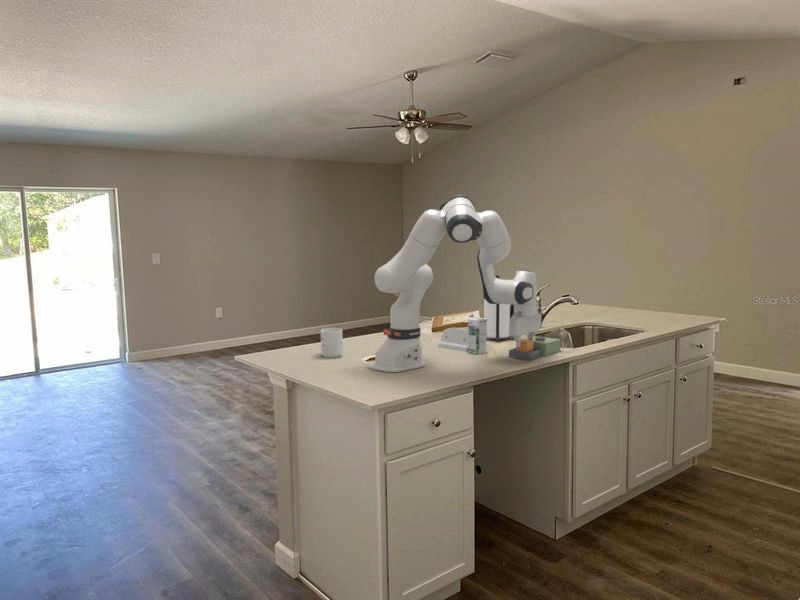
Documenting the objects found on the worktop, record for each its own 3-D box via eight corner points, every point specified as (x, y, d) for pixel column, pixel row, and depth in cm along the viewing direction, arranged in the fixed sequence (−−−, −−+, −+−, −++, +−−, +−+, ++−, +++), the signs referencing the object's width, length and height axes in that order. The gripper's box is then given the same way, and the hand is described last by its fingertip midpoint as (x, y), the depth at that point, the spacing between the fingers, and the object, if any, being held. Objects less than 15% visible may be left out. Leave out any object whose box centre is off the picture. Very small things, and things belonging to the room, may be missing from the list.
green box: (545, 356, 245) (546, 341, 244) (519, 352, 253) (519, 338, 252) (560, 350, 255) (560, 336, 254) (534, 347, 262) (534, 333, 262)
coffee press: (515, 342, 273) (516, 276, 270) (479, 342, 276) (480, 276, 272) (514, 335, 290) (515, 273, 286) (480, 335, 293) (481, 273, 289)
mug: (347, 356, 249) (346, 329, 248) (328, 359, 244) (327, 332, 242) (331, 351, 258) (331, 326, 257) (313, 354, 253) (312, 328, 252)
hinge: (436, 346, 267) (441, 324, 268) (443, 348, 270) (448, 326, 271) (466, 351, 255) (471, 328, 256) (473, 353, 258) (478, 331, 260)
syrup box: (467, 352, 254) (467, 318, 252) (477, 350, 258) (477, 316, 256) (477, 354, 250) (477, 319, 248) (487, 352, 253) (487, 318, 252)
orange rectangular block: (527, 359, 240) (527, 341, 240) (515, 357, 244) (516, 340, 243) (533, 356, 244) (533, 339, 243) (522, 355, 247) (522, 338, 247)
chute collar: (529, 360, 237) (529, 353, 237) (508, 357, 243) (508, 350, 243) (540, 356, 244) (540, 349, 244) (520, 353, 250) (520, 346, 250)
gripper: (519, 314, 232) (518, 349, 233) (544, 308, 247) (543, 341, 249) (504, 312, 236) (504, 347, 237) (530, 307, 251) (529, 339, 253)
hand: (524, 344), depth 243 cm, fingers open, 8 cm apart
